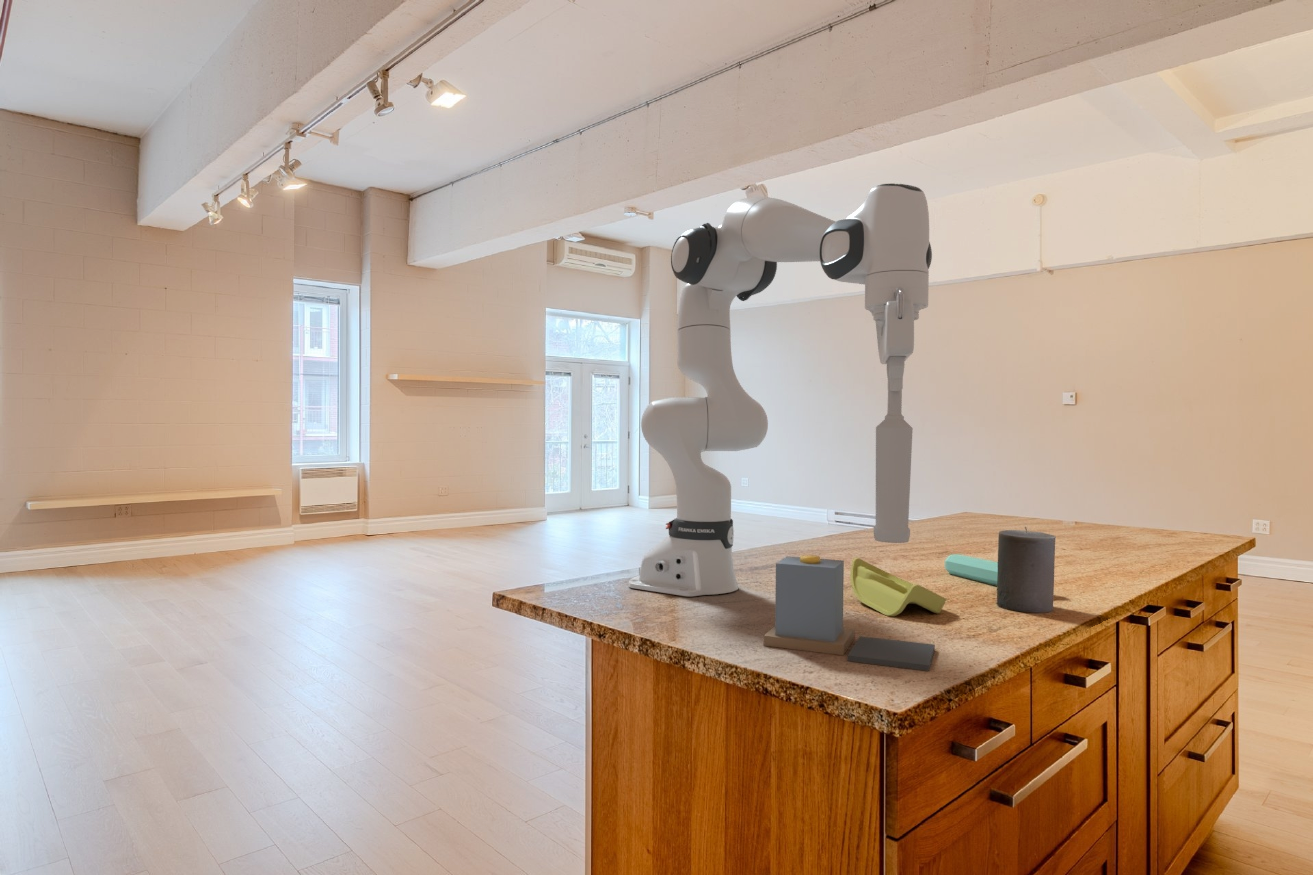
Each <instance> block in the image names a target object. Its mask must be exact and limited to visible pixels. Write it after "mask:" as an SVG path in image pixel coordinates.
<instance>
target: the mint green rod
mask: <svg viewBox="0 0 1313 875" xmlns="http://www.w3.org/2000/svg"><path fill="white" fill-rule="evenodd" d="M944 569H945V570H946V571H947V572H948V574H950V575H952V576H957V577H961V578H964V579H967V580H968V579H969V580H973V581H975V582H976V581H977V582H979V583H983V584H988V585H992V586H996V587H997V574H998V561H993V560H988V559H983V558H979V557H975V556H974V557H973V556H969V555H965V554H959V553H958V554H957V553H956V554H955V553H954V554H950V555H948V556H947V557H946V558H945V560H944Z"/></svg>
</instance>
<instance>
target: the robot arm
mask: <svg viewBox="0 0 1313 875" xmlns="http://www.w3.org/2000/svg"><path fill="white" fill-rule="evenodd" d="M929 214H930V213H929V206H928V200H927V197H926V194H925V192H924V191H923V190H922V189H921V188H920V187H918V186H915V185H909V184H905V183H903V184H902V183H881V184H878V185H876V186H873V187H872V188H871V189H870V190H869V192H868V194H867V196H866V199H865V200H864V202H863V203H862V204H861V205H860V206H859V207H857V209H855V210H854V211H853V212H852V213H851V214H849V215H848V216H846V217H845V218H843V219H839V220H836V221H835V220H832V219H830V218H827V217H826V216H823V215H821V214H818V213H815V212H813V211H811V210H808V209H806V208H804V207H802V206H799V205H797V204H794V203H791V202H789V201H787V200H783V199H781V198H780V199H779V198H775V197H769V196H768V197H767V196H751V197H746V198H745V197H744V198H741V199H739V200H737V201H735V202H733V203H732V204H731V205H730V207H728V208H727V211H726V212H725V214H724V217H723V221H722V222H721V223H720V225H719V226H712V225H711V223H709V222H705V223H703V224H702V225H701V226H699V227H695V228H691V229H688V230H686V231H685V232H683V233H682V234H681V235H679V236H678V237H677V239H675V242H674V244H673V246H672V250H671V256H670V266H671V269H672V271H673V274H674V276H675V278H677V279H678V280H680V281H681V282H684V283H685V285H684V286H683V288H682V290H681V292H680V297H679V304H678V305H679V306H678V310H677V311H678V312H677V323H676V324H677V325H676V329H677V330H676V338H677V339H676V341H677V342H676V343H677V344H676V350H677V351H676V356H677V358H676V363H677V367H678V370H679V372H680V373H681V374H682V375H684V376H685V378H687V379H689V380H691V381H693V382H695V383H697V384H699V385H701V386H702V387H703V388H704V390H705V391H706V393H707V396H705V397H689V396H688V397H686V396H685V397H682V396H681V397H680V396H679V397H678V396H676V397H674V396H673V397H667V398H661V399H658V400H653V401H652V400H651V402H650V403H649V404H648V405H647V406H646V408H645V409H644V411H643V414H642V417H641V422H640V427H641V432H642V436H643V438H644V440H645V441H646V442H647V444H648V445H649V446H650V447H651V448H653V449H654V450H655V451H656V452H658V454H660V455H661V457H662V458H664V461H666V463H667V464H668V466H669V468H670V471H671V473H672V476H673V479H674V483H675V491H676V492H675V493H676V518H674V519H672V520H670V521H668V522H667V523H665V525H667V526H665V530H668V536H667V537H666V538H665V539H663V540H661V541H660V542H659V543H658V544H657V545H655V546H653V548H651V549H650V550H648V551H647V552H646V553H645V554H644V556H643V558H642V560H641V563H640V567H639V574H638V575H637V576H633V577H632V578H631V579H629V581H628V587H629V588H630V589H635V590H636V589H637V590H643V591H649V592H654V593H655V592H657V593H663V594H669V595H676V596H680V597H697V596H706V595H708V596H710V595H719V594H720V595H721V594H727V593H733V592H736V591H737V590H738V589H739V584H738V582H737V577H736V573H735V572H736V571H735V567H734V558H733V549H732V548H733V546H734V545H733V544H734V532H735V530H734V520H733V519H732V484H731V481H730V480H729V479H728V477H727V476H726V475H725V474H723V473H722V472H720V471H718V470H716V469H715V468H713V467H711V466H709V465H707V464H706V463H704V462H703V460H702V459H703V458H702V453H703V452H738V451H745V450H749V449H754V448H757V447H759V446H760V445H761V444H762V443H763V441H764V439H765V438H766V436H767V432H768V426H769V421H768V416H767V413H766V411H765V408H764V407H763V406H762V405H761V404H760V403H759V402H758V401H757V400H755V399H754V398H753V397H752V396H750V394H749V393H748V392H746V390H745V389H744V387H742V385H741V383H740V382H739V379H738V378H737V376H736V372H735V369H734V365H733V356H732V342H731V337H732V336H731V316H730V315H731V314H730V310H731V304H732V303H733V301H734V300H735V298H738V299H739V301H742V302H745V301H748V300H749V299H750V298H751V297H752V296H754V295H757V294H760V293H761V292H763V291H764V290H765V289H767V288H768V287H769V286H770V285H771V284H772V282H773V281H774V279H775V277H776V274H777V270H778V263H799V262H800V263H805V262H807V263H808V262H809V263H810V262H819V263H820V266H821V269H822V271H823V272H824V274H825V275H826V276H827V277H828V278H829V279H831V280H834V281H838V282H841V283H849V284H856V285H857V284H859V285H864V309H865V310H866V311H869V312H870V313H871V316H872V317H873V321H874V322H875V330H876V339H877V340H876V341H877V350H878V357H879V362H880V364H882V365H886V376H887V379H888V369H889V390H890V391H901V390H902V391H903V389H904V388H903V386H904V384H903V383H904V381H903V380H904V378H903V377H904V372H905V362H906V360H908V359H909V358H910V356H911V355H913V353H914V348H915V347H914V346H915V321H917V320H919V319H920V314H919V313H920V310H924V309H926V308H928V307H929V276H930V275H929V273H930V272H929V271H930V270H929V269H930V267H931V264H932V260H933V253H932V251H933V250H932V245H931V243H930V242H931V241H930V215H929Z"/></svg>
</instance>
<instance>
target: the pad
mask: <svg viewBox="0 0 1313 875" xmlns="http://www.w3.org/2000/svg"><path fill="white" fill-rule="evenodd" d="M935 648H936V647H935V643H933V644H931V643H923V642H915V641H905V640H899V639H898V640H897V639H888V638H887V639H886V638H879V637H869V636H862V635H860V636H859V637H858V638H857V640H856V642H855V643H854V645H853V646H852V647H851V649H850V651H849V653H848V654H847V661H848V662H854V663H862V664H868V665H869V664H870V665H879V666H885V667H892V668H902V669H909V670H916V671H917V670H918V671H926V672H929V671H930V668H931V666H932V661H933V657H934V653H935Z"/></svg>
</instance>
